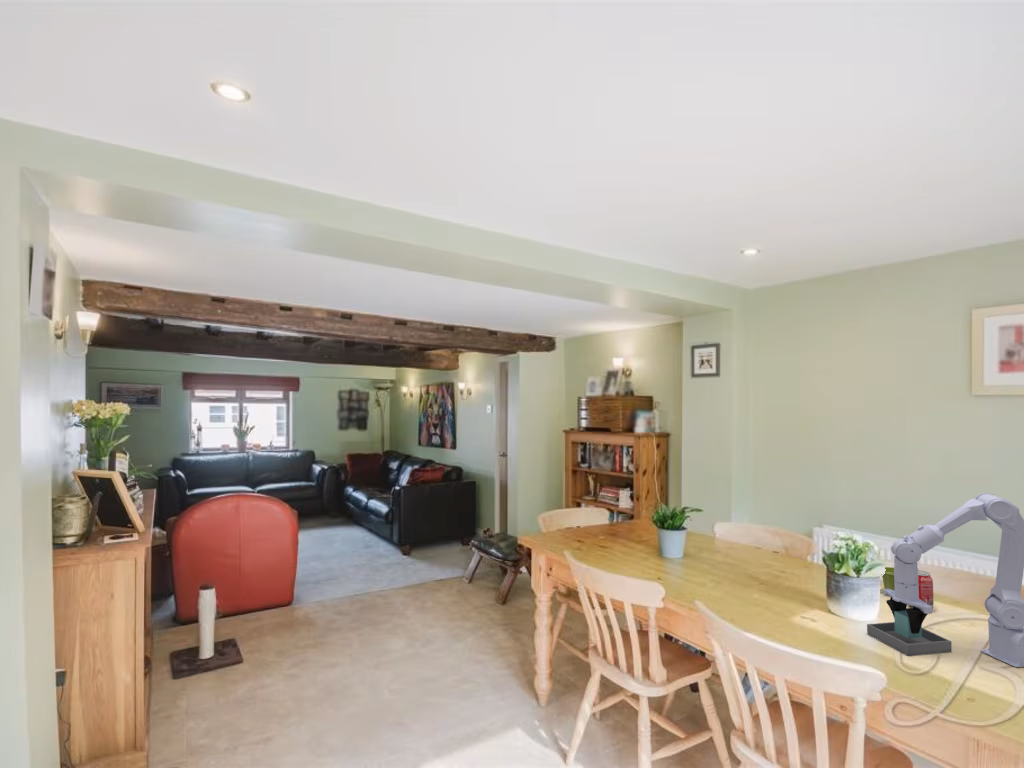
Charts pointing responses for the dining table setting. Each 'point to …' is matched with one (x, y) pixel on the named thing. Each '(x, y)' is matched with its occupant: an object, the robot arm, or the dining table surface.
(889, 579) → the plant pot
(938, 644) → the tray
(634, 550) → the dining table surface
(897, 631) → the teal block
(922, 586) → the soda can
